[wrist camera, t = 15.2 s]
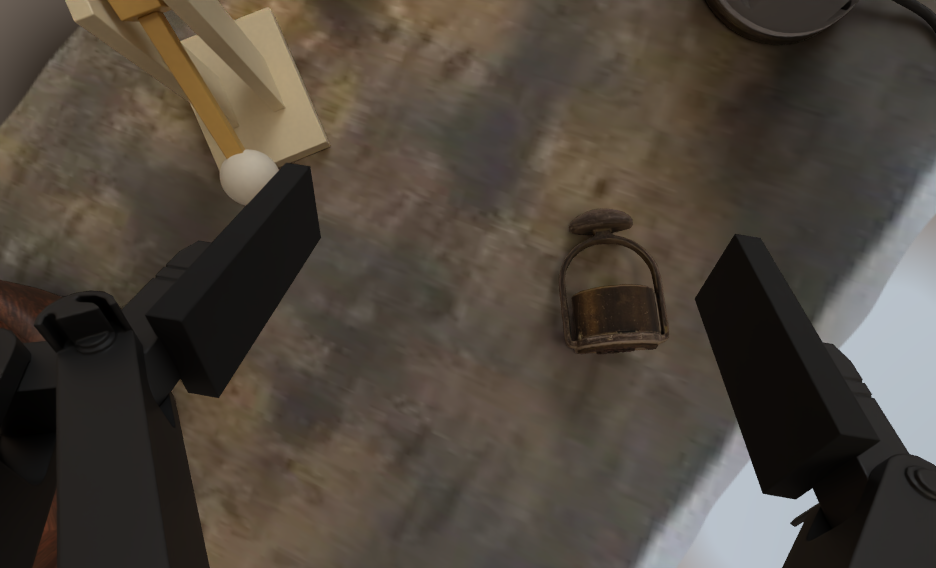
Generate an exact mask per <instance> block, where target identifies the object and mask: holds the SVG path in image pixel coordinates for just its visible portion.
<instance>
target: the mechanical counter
mask: <svg viewBox="0 0 936 568" xmlns="http://www.w3.org/2000/svg"><path fill="white" fill-rule="evenodd" d="M632 225H633V220H632V218H631V217H630V216H629V215H628V214H626V213H624V212H622V211H619V210H614V209H594V210H590V211H587V212H585V213H584V214H582V215H580V216H578V217H576V218H575V219H574V220H573V221H572V222H571V223H570V226H569V230H570V231H571V232H572V233H575V234H579V235H593V237H591V238H589V239H587V240H585V241H584V242H582V243H580V244H578V245H577V246H576V247H575V248H574V249H573V250H572V251H571V252H570V253H569V254H568V256H567V257H566V259H565V260H564V262H563V265H562V268H561V271H560V275H559V292H560V301H561V310H562V319H563V328H564V337H565V341H566V344H567V346H568V347H570V348H573V349H575V352H576V353H577V354H586V353H597V354H607V353H619V352H630V351H634V350H646V349H648V350H650V349H656V348H657V346H658V345H659V344H660V343H662V342H665V341H666V340H667V339H668V338H669V325H668V319H667V314H666V306H665V299H664V293H663V287H662V280H661V275H660V272H659V269H658V266H657V264H656V262H655V261H654V259H653V258H652V257H651V256H650V254H649V253H648V252H647V251H646V250H645V249H644V248H643V247H642V246H640V245H639V244H637V243H636V242H634V241H632V240H630V239H627V238H624V237H620V236H615V235H613V234H612V233H613V232H618V231H622V230H626V229H629V228H631V227H632ZM596 244H618V245H623V246H625V247H628V248H630V249H632V250H633V251H635V252H636V253H637V254H638V255H639V256H640V257H642V259H643V260H644V261H645V263H646V264H647V265H648V267H649V269H650V271H651V274H652V279H653V284H654V290H655V292H653V289H652V288H650V287H648V286H643V285H633V284H622V285H613V286H602V287H597V288H592V289H587V290H583V291H580V292H579V293H577V294H575V295H574V296H573V297H572V309H573V318H574V328H575V341H572V339H571V328H570V318H569V311H568V305H567V298H566V287H565V273H566V270H567V268H568V266H569V264H570V262H571V261H572V259H573V258H574V257H575V256H576V255H577V254H578V253H579V252H581V251H582V250H584V249H585V248H587V247H590V246H593V245H596ZM660 333H661V335H660Z"/></svg>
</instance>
